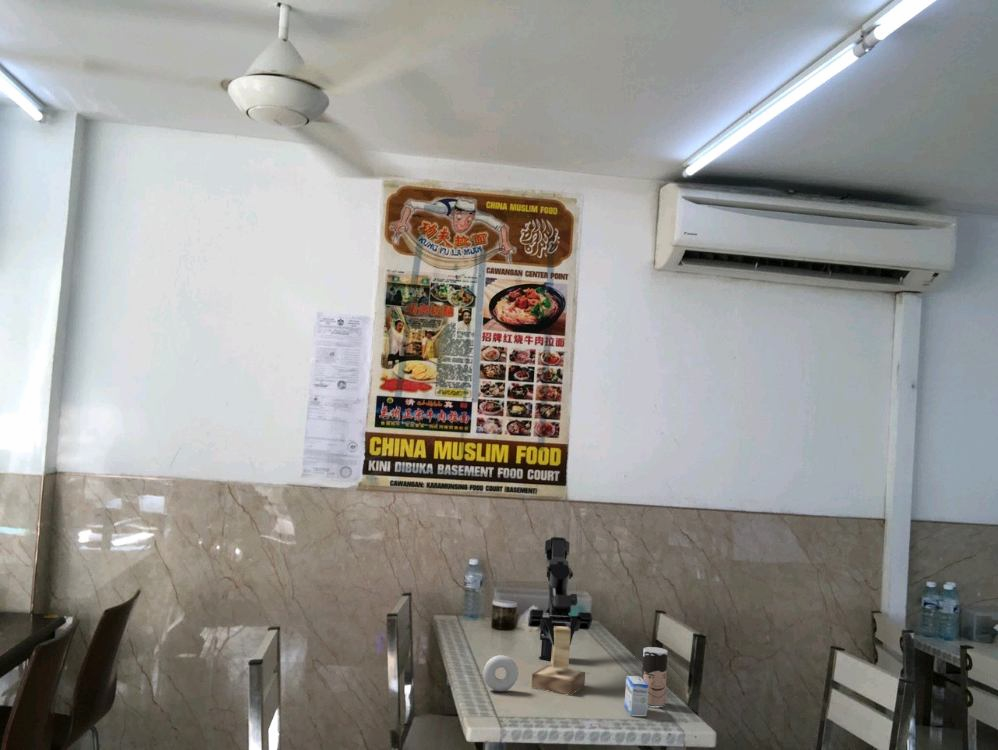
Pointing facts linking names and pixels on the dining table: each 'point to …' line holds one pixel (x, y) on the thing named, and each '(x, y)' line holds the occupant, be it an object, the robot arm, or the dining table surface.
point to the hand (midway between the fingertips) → (561, 644)
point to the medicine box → (636, 695)
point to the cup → (655, 674)
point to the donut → (493, 666)
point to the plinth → (558, 679)
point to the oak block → (560, 647)
